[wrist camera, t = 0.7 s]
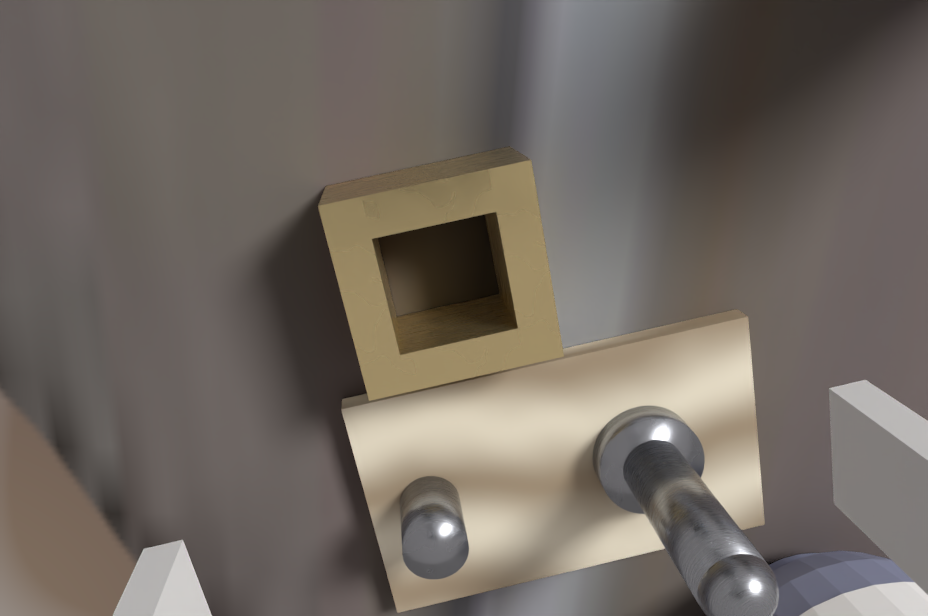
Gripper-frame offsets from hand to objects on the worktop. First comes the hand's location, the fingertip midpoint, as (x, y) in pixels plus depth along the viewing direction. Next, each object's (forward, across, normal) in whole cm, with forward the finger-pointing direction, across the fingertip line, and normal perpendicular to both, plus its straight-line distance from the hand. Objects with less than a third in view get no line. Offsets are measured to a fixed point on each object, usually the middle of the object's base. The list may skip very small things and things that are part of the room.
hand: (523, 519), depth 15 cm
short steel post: (+20, -3, -12) cm, 24 cm away
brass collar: (+21, 0, 0) cm, 21 cm away
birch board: (+21, +4, -12) cm, 25 cm away
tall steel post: (+20, +8, -12) cm, 25 cm away
